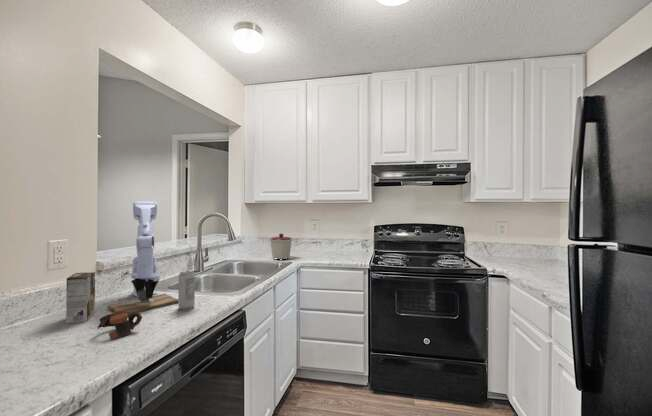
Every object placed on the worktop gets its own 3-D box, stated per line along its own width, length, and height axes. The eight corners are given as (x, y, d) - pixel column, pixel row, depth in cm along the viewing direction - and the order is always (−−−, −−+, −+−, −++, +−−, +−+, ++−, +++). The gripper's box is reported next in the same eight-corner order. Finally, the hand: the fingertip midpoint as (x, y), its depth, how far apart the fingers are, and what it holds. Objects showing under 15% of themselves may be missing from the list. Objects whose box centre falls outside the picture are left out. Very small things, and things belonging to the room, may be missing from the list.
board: (108, 307, 123) (108, 302, 123) (164, 296, 140) (165, 291, 140) (120, 316, 113) (120, 310, 113) (179, 302, 130) (179, 297, 130)
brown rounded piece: (98, 345, 91) (92, 318, 93) (105, 347, 99) (100, 322, 101) (143, 327, 97) (137, 302, 99) (147, 330, 105) (140, 307, 107)
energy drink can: (187, 304, 128) (188, 269, 128) (197, 306, 125) (198, 270, 125) (175, 308, 123) (175, 271, 123) (185, 311, 120) (185, 273, 120)
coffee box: (74, 315, 114) (75, 272, 114) (95, 313, 117) (95, 271, 117) (65, 324, 106) (65, 278, 106) (87, 321, 108) (88, 276, 108)
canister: (266, 260, 238) (266, 234, 238) (274, 257, 256) (275, 232, 256) (287, 261, 234) (287, 234, 234) (295, 258, 252) (295, 232, 252)
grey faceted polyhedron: (134, 299, 125) (134, 289, 125) (147, 295, 130) (147, 286, 130) (142, 300, 123) (142, 291, 123) (155, 297, 128) (155, 287, 128)
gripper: (124, 264, 126) (123, 297, 126) (148, 267, 120) (148, 301, 120) (140, 261, 132) (139, 292, 132) (164, 264, 127) (163, 296, 127)
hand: (144, 296), depth 127 cm, fingers closed on grey faceted polyhedron, 5 cm apart
